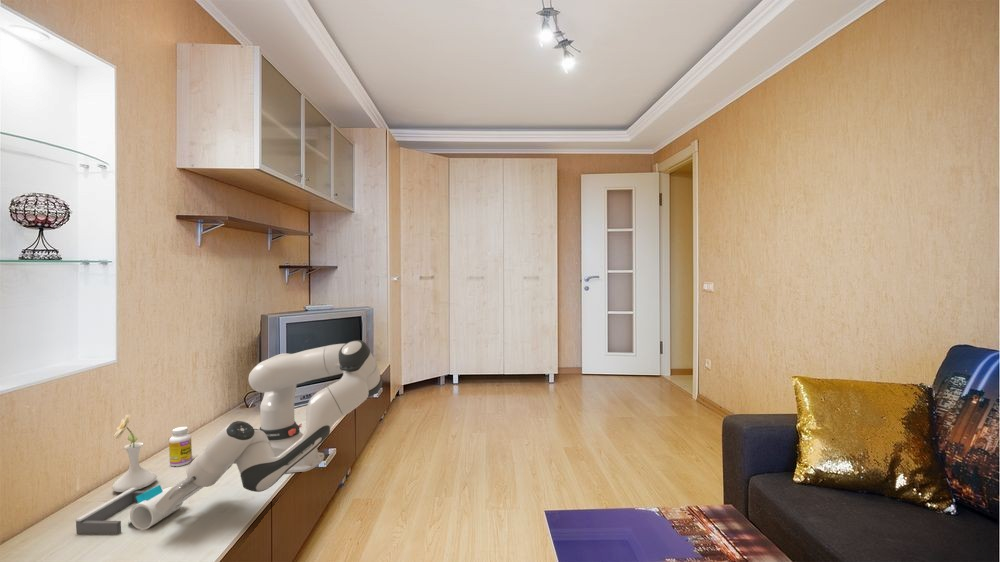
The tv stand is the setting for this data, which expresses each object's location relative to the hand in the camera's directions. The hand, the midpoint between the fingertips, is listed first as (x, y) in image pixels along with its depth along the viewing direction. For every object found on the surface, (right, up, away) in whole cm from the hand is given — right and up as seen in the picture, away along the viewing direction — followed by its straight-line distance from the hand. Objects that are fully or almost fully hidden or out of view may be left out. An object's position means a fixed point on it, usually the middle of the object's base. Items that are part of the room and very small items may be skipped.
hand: (174, 504), depth 126 cm
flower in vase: (-27, -4, +19) cm, 33 cm away
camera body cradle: (-16, -4, +2) cm, 16 cm away
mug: (-6, -4, +1) cm, 8 cm away
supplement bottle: (-25, -4, +37) cm, 45 cm away
